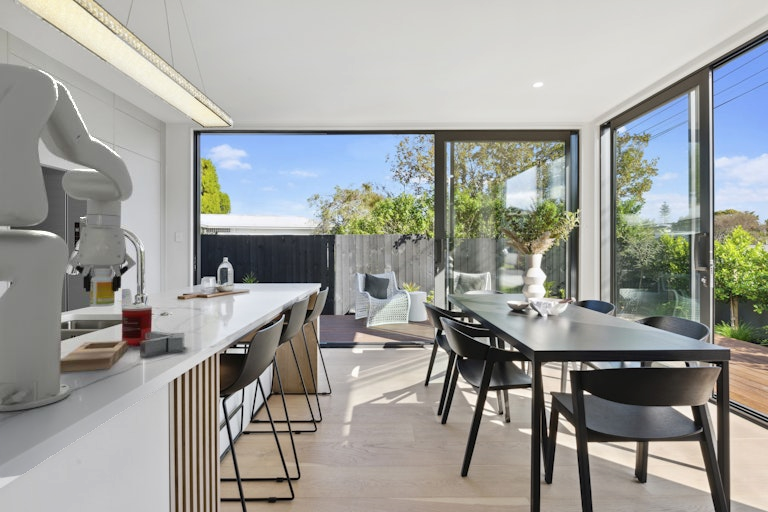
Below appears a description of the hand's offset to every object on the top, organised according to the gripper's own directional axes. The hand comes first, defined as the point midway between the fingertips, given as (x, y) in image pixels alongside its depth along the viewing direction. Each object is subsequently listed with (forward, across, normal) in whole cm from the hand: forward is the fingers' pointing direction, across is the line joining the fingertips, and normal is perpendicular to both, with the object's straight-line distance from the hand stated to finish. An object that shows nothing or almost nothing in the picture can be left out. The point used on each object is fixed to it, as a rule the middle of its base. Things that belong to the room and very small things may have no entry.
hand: (102, 290), depth 111 cm
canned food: (+17, +6, +13) cm, 23 cm away
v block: (+17, +15, +2) cm, 23 cm away
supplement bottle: (+4, 0, 0) cm, 4 cm away
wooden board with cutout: (+17, 0, -5) cm, 18 cm away
